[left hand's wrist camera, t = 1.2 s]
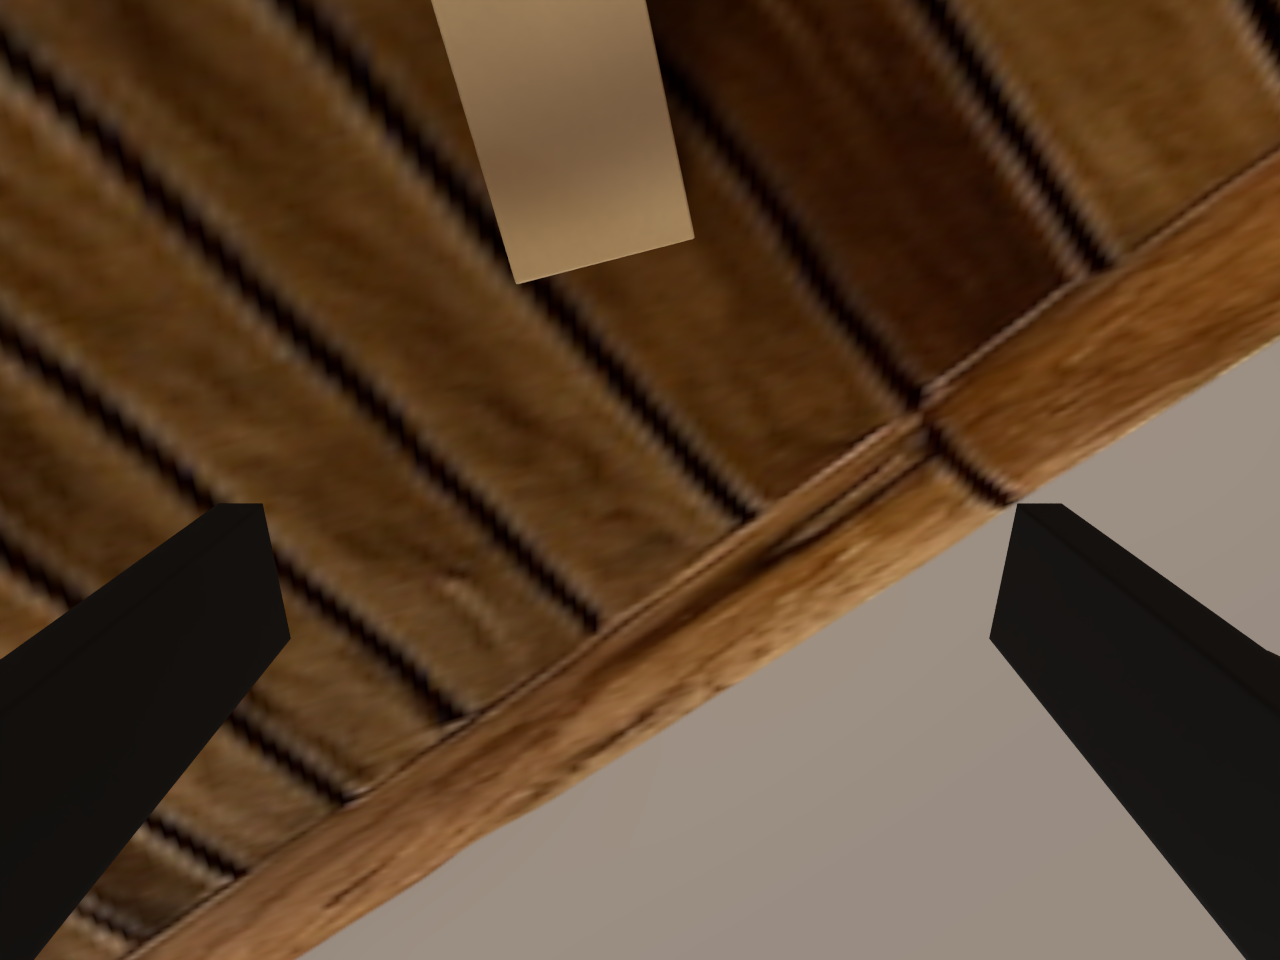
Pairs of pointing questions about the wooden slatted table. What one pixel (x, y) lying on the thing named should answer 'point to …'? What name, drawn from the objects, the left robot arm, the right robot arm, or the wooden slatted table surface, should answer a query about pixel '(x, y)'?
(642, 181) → the bar
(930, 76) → the wooden slatted table surface
